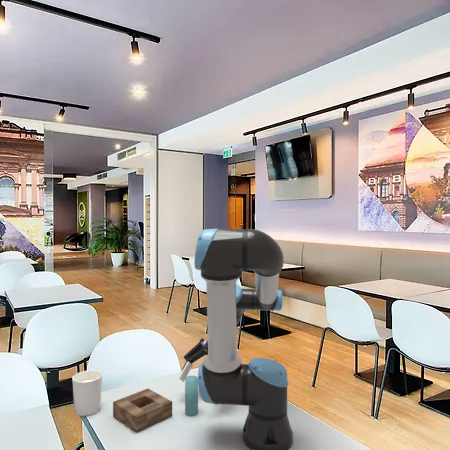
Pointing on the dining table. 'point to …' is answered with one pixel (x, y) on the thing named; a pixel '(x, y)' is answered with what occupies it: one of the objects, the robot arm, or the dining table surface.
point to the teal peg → (191, 395)
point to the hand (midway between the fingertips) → (194, 385)
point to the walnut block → (142, 409)
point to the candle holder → (87, 392)
